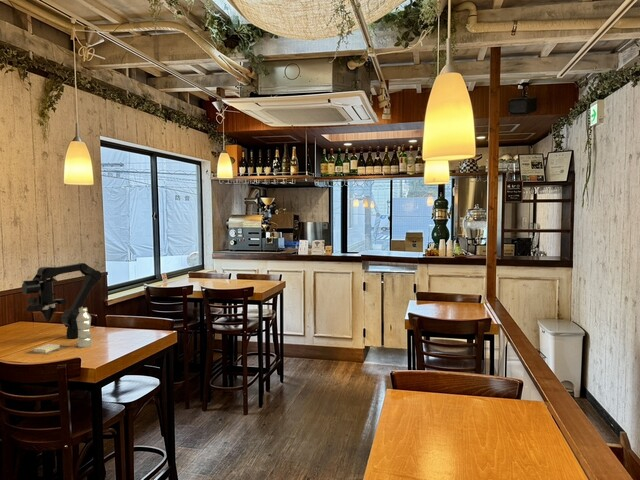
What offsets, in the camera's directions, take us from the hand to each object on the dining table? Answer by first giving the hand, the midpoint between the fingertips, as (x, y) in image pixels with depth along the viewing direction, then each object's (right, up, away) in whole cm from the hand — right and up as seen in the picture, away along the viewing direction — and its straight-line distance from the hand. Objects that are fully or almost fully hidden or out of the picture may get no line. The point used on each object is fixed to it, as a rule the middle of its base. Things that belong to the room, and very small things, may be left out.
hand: (48, 321), depth 221 cm
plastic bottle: (+22, -12, -6) cm, 26 cm away
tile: (+7, -11, -7) cm, 15 cm away
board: (+7, -12, -10) cm, 17 cm away
